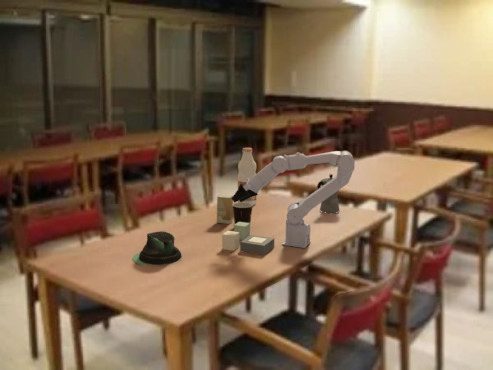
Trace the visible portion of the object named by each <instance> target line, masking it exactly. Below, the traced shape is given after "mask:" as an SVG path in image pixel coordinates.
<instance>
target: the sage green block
mask: <svg viewBox="0 0 493 370" xmlns="http://www.w3.org/2000/svg"><path fill="white" fill-rule="evenodd" d="M233 232H239V241H243V240H244V239H246V238H247V237H249V236H250V235H251V222H250V223H245V222H238V223H236V224H235V223H234V225H233Z"/></svg>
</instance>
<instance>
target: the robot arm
mask: <svg viewBox="0 0 493 370" xmlns="http://www.w3.org/2000/svg"><path fill="white" fill-rule="evenodd" d="M327 163H329V164H331V165H332V166H335V167H336V165H337V171H336V176H333V177H332V178H333V179H332V180H330V181H329V182H327V183H326V184H325V185H323V186H321V187H320V188H319V189H318V188H317V189H316V190H315V191H313V192H311V194H309V195H308V196H307V197H305V198H304V199H300V200H299V201H297V202H294V203H290V204H289V205H288V208H287V213H286V219H285V239H284V241H283V242H282V243H281V245H282V246H287V247H295V248H303V249H305V248H307V246H309V245H310V244H311V224H310V223H308V222H307V223H306V222H305V220H304V218H305V216H307V215H308V214H309V213H310V212H311V211H312V210H314V208H315V207H317V206H318V205H321V202H323V201H324V200H326V199H327V198H328V197H330V196H331V195H333V194H334V193H335V192H337V191H338V190H339V191H340V190H341V189H342V188H344V187H345V186H347V185H348V184H349V183H350V180H351V178H352V175H353V172H354V171H355V166H356V165H355V159H354V156H353V154H352V153H351V152H350V151H349V150H342V151H339V150H335V151H329V152H328V151H327V152H324V153H318V154H310V155H305V154H304V153H301V152H296V153H295V154H289V155H287V154H283V155H277V156H274V157H273V159H272V162H270V163H268V164H267V165H265V166H264V167H263V168H262V169H261V170H259V172H256V175H255V176H254V177H252V178H251V179H250V180H249V178H247V179H246V180H247V183H246V185H243V184H240V186H239V188H238V187H237V190H236V192H235V193H234V194H233V195H232V196H233V197H232V198H231V199H232V200H233V204H235V203H238V201H240V202H243V201H245V200H246V199H248V198H250V197H253V196H256V197H257V196H258V195H259V194H258V193H259V191H260V190H262V189H263V188H265V186H267V185H268V184H269V183H271V181H273V180H274V179H275V178H276V177H277V176H278V175H279V174H280V173H281V174H283V173H284V172H286V171H293V170H294V171H295V170H301V169H305V168H306V167H307V166H308V165H314V164H315V165H316V164H327Z"/></svg>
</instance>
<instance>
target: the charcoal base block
mask: <svg viewBox="0 0 493 370" xmlns="http://www.w3.org/2000/svg"><path fill="white" fill-rule="evenodd" d="M273 247H274V248H275V238H274V237H268V236H262V235H255V234H254V235H253V234H250V236H249V237H247V238H246V239H244V240H240V241H239V248H240V249H239V250H240V252H243V253H244V252H245V253H250V254H255V253H256V254H255V255H261V254H263V256H264V255H266V254H267V253H269V252H270V251H271V250H273V249H274V248H273ZM268 251H269V252H268Z"/></svg>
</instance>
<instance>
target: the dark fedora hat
mask: <svg viewBox="0 0 493 370" xmlns="http://www.w3.org/2000/svg"><path fill="white" fill-rule="evenodd" d="M175 239H176V238H175V236H174V235H173V234H172V233H170V232H168V231H164V230H163V231H161V230H160V231H153V232H149V233H147V235H146V243H145V245H144V246H143V247H142V250H141V251H140V252H137V253H136V254H134V256H133V257H132V261H133V262H134V263H136V264H138V265H140V266H143V267H146V266H147V265H151V266H157V265H158V266H160V265H161V266H164V265H168V267H169V266H171V265H169V264H172V263H176V262H177V261H180V260H181V258H182V252H181V251H180V249H179V248H178V247H177V246H175Z"/></svg>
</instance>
